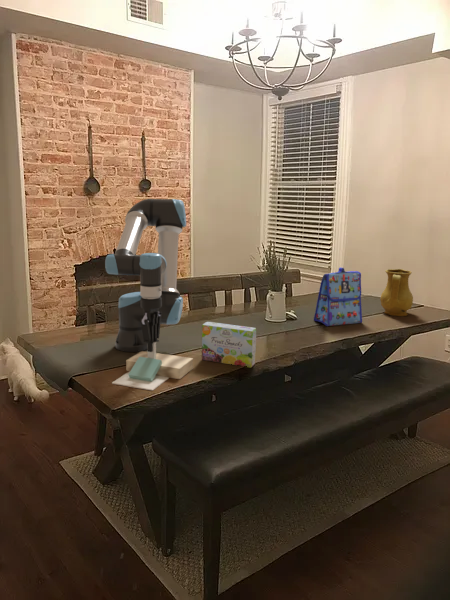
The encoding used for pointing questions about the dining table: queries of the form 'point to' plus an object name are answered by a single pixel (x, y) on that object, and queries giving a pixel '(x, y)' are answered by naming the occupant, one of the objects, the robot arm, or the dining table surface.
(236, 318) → the dining table surface
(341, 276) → the lunch bag
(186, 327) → the dining table surface
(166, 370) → the board
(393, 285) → the pitcher
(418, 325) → the dining table surface
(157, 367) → the coaster
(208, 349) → the snack box
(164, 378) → the mat
